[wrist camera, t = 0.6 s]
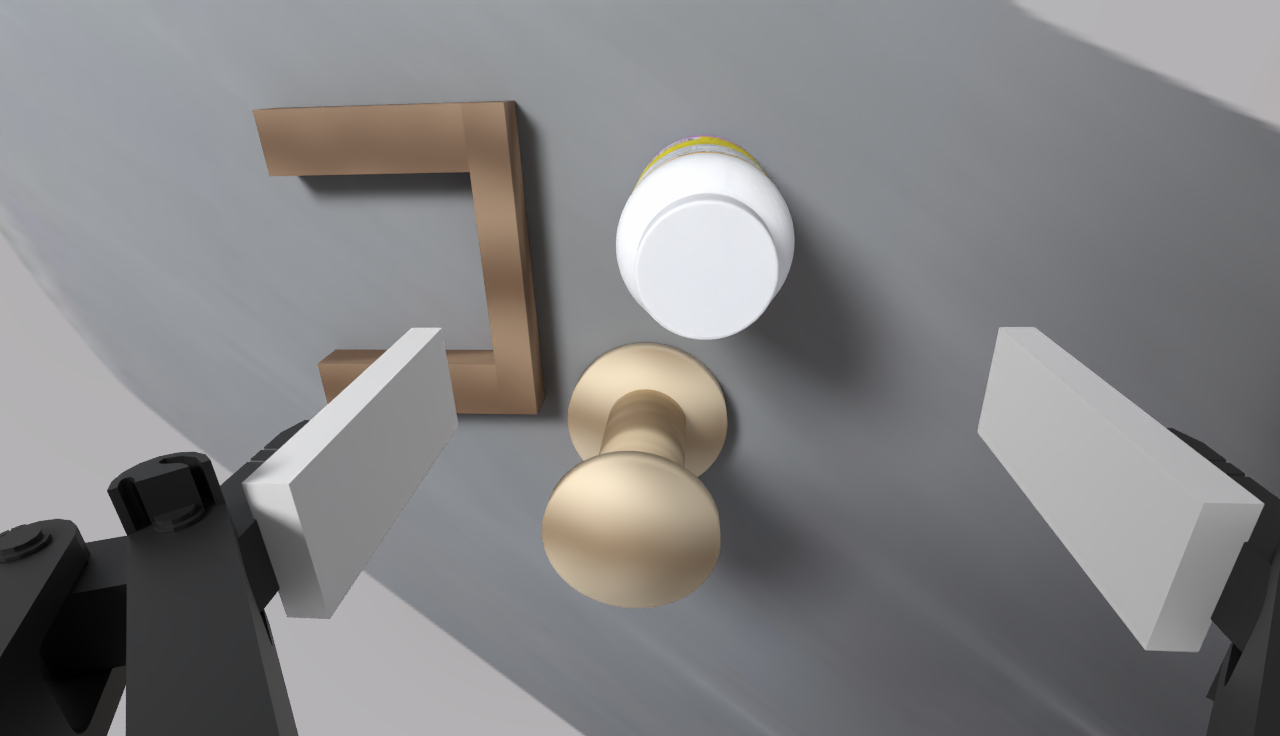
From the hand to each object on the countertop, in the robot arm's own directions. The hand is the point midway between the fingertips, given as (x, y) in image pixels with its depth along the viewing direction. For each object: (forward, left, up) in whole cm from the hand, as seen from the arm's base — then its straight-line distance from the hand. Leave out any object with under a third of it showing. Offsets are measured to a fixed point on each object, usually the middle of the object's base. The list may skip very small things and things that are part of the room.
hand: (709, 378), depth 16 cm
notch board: (+2, -15, -19) cm, 24 cm away
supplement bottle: (-1, 0, -19) cm, 19 cm away
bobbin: (+11, -3, -19) cm, 22 cm away
